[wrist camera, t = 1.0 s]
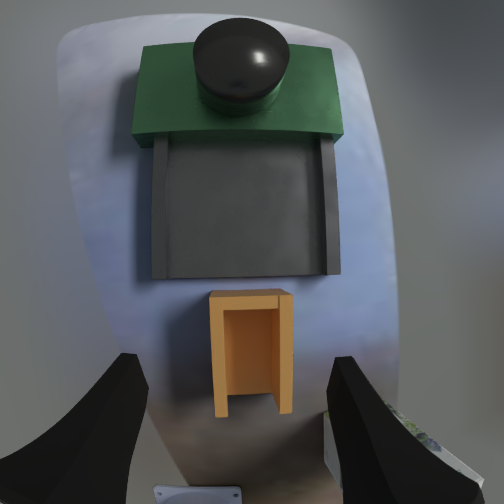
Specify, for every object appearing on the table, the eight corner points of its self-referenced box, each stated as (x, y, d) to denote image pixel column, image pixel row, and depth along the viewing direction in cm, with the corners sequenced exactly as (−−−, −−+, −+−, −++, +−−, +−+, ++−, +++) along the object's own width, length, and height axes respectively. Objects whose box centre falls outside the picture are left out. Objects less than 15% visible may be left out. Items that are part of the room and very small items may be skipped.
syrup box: (322, 461, 24) (383, 574, 9) (321, 408, 24) (401, 522, 9) (379, 446, 24) (462, 537, 10) (382, 394, 24) (488, 477, 10)
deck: (337, 273, 24) (379, 277, 17) (138, 277, 23) (105, 284, 16) (321, 67, 24) (346, 19, 17) (150, 65, 23) (132, 15, 16)
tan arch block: (280, 388, 24) (291, 412, 19) (216, 391, 23) (215, 417, 19) (279, 288, 24) (292, 294, 19) (212, 290, 23) (209, 297, 19)
